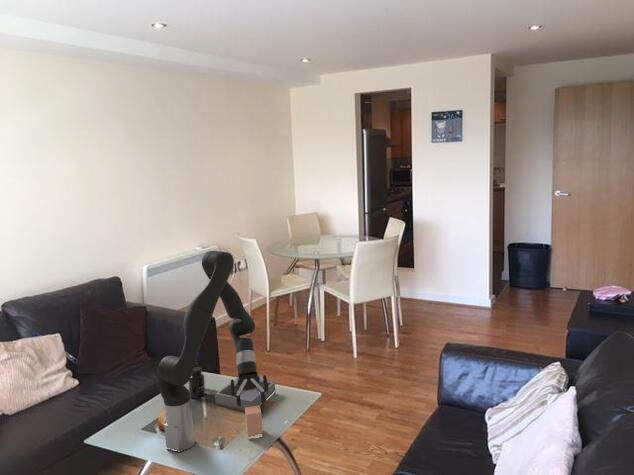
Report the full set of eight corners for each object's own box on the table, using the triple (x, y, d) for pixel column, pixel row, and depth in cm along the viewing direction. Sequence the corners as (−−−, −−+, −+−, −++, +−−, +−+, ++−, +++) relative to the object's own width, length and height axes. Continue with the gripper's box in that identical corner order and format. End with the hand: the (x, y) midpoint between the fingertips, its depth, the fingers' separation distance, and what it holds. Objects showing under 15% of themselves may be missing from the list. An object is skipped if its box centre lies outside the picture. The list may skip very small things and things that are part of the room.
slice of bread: (175, 403, 223) (174, 394, 222) (204, 414, 212) (203, 405, 211) (139, 421, 208) (138, 413, 208) (168, 434, 198) (167, 425, 197)
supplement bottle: (203, 398, 225) (201, 372, 222) (187, 399, 225) (185, 372, 223) (207, 391, 231) (205, 365, 229) (191, 391, 231) (189, 366, 229)
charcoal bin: (251, 413, 210) (251, 401, 210) (215, 404, 219) (215, 393, 218) (275, 393, 226) (274, 382, 225) (241, 386, 234) (240, 376, 233)
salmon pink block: (262, 437, 192) (261, 412, 191) (247, 439, 191) (246, 414, 190) (261, 429, 198) (259, 405, 196) (246, 432, 197) (244, 407, 195)
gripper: (228, 363, 202) (232, 404, 193) (265, 358, 205) (270, 398, 196) (228, 370, 208) (232, 411, 199) (264, 365, 211) (269, 405, 202)
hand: (251, 404), depth 198 cm, fingers open, 8 cm apart
